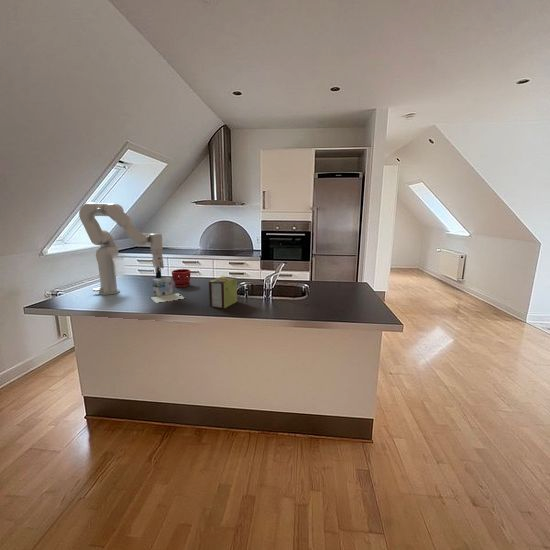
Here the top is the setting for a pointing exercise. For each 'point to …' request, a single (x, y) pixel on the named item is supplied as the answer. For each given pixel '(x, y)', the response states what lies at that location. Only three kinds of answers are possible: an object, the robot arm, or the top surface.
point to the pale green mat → (166, 298)
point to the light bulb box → (162, 286)
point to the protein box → (223, 291)
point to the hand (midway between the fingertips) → (158, 278)
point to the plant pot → (181, 277)
